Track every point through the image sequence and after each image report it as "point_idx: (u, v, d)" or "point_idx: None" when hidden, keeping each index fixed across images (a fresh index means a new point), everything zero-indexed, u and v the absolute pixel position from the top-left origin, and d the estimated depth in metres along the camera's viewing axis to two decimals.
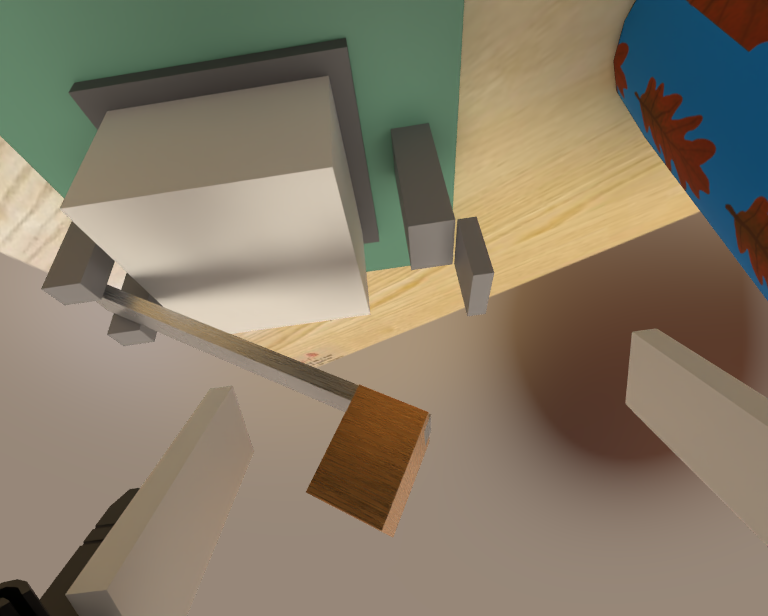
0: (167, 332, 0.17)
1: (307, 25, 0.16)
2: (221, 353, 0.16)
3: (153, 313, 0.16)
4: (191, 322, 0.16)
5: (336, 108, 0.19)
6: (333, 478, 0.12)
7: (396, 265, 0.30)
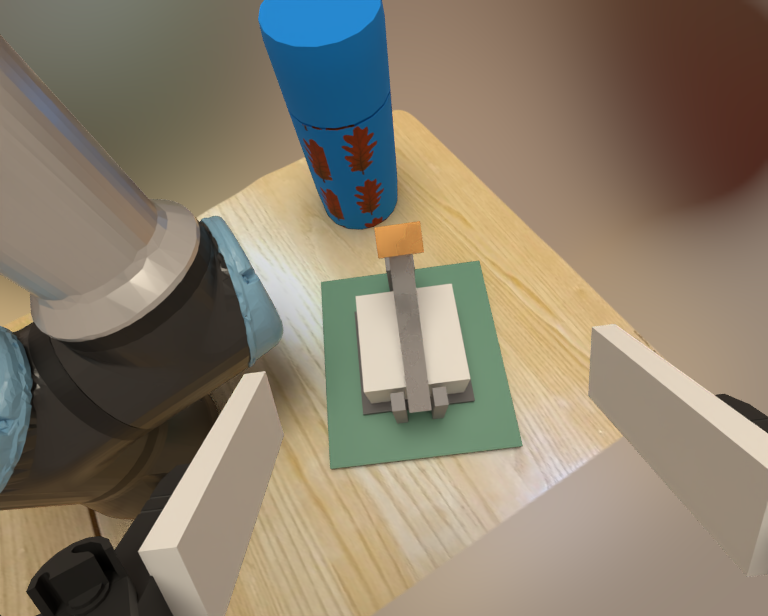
0: (418, 363, 0.36)
1: (350, 326, 0.48)
2: (410, 329, 0.35)
3: (403, 364, 0.36)
4: None
5: None
6: None
7: (484, 290, 0.48)
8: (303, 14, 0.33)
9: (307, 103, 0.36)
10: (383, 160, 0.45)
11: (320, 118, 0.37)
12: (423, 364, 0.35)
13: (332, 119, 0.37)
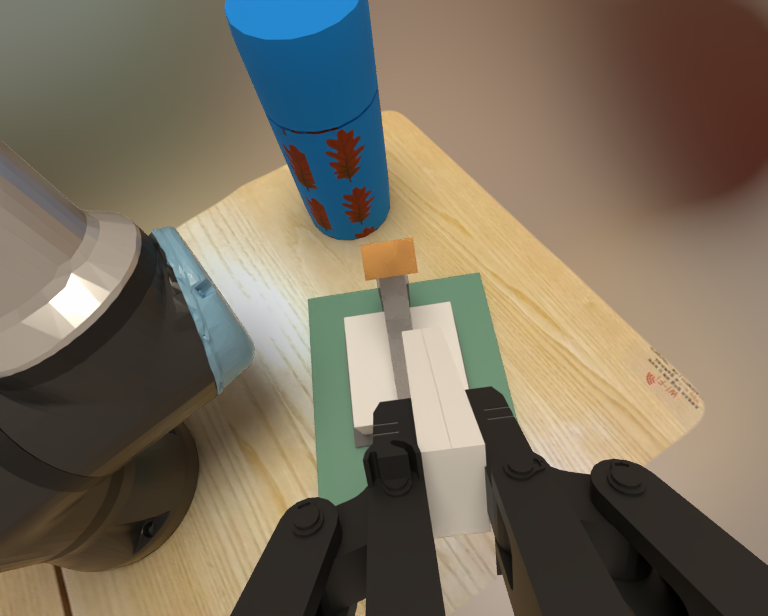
0: None
1: (340, 347, 0.44)
2: (404, 357, 0.31)
3: (397, 396, 0.32)
4: None
5: None
6: None
7: (485, 305, 0.44)
8: (275, 3, 0.29)
9: (283, 104, 0.32)
10: (372, 166, 0.41)
11: (299, 121, 0.33)
12: None
13: (313, 122, 0.33)
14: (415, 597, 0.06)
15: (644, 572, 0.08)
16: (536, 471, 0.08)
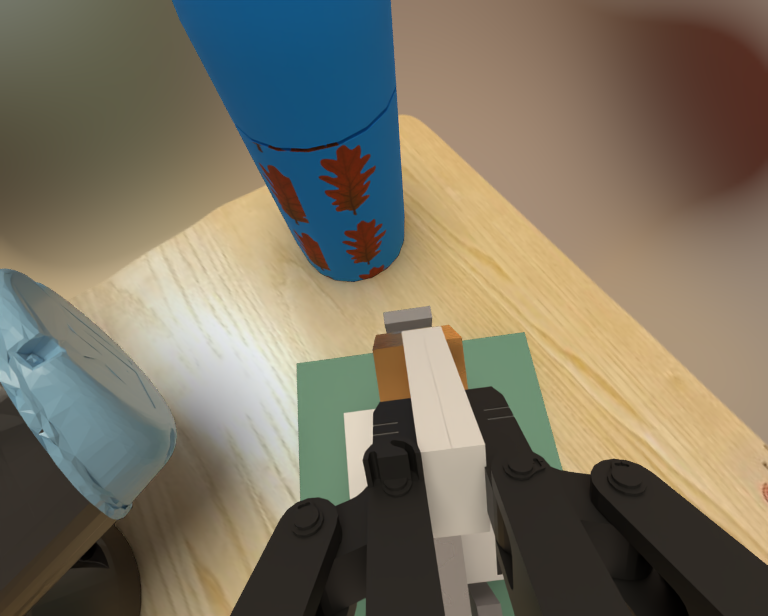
0: (451, 563, 0.20)
1: (338, 435, 0.32)
2: None
3: None
4: None
5: None
6: None
7: (534, 378, 0.33)
8: None
9: (254, 107, 0.21)
10: (385, 192, 0.30)
11: (280, 133, 0.22)
12: (460, 564, 0.20)
13: (301, 135, 0.22)
14: (415, 597, 0.06)
15: (644, 572, 0.08)
16: (536, 471, 0.08)
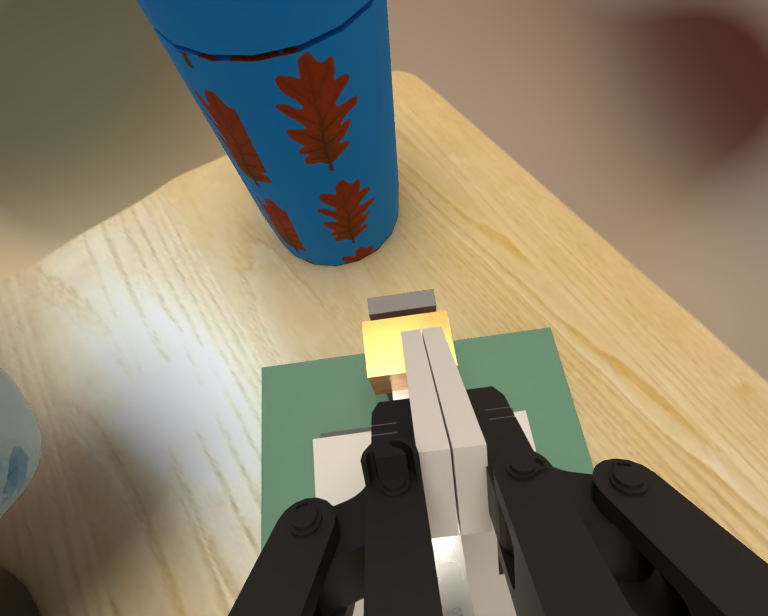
0: None
1: (313, 460, 0.25)
2: (438, 547, 0.16)
3: None
4: None
5: None
6: None
7: (564, 386, 0.26)
8: None
9: None
10: (372, 141, 0.22)
11: (209, 26, 0.15)
12: None
13: (240, 29, 0.15)
14: (413, 597, 0.06)
15: (646, 572, 0.08)
16: (538, 471, 0.08)
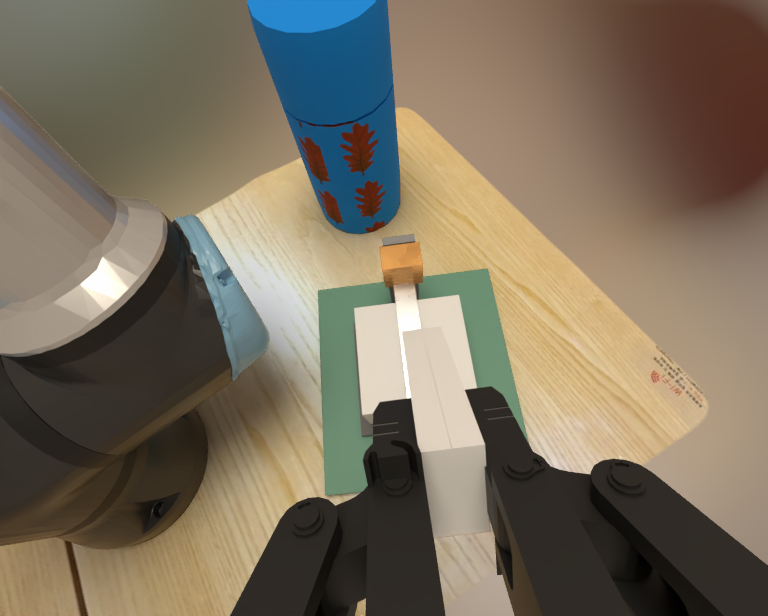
0: None
1: (349, 338, 0.44)
2: None
3: None
4: (403, 364, 0.35)
5: None
6: None
7: (493, 300, 0.45)
8: None
9: (301, 96, 0.33)
10: (385, 160, 0.42)
11: (316, 113, 0.34)
12: None
13: (329, 115, 0.34)
14: (415, 597, 0.06)
15: (644, 572, 0.08)
16: (536, 471, 0.08)
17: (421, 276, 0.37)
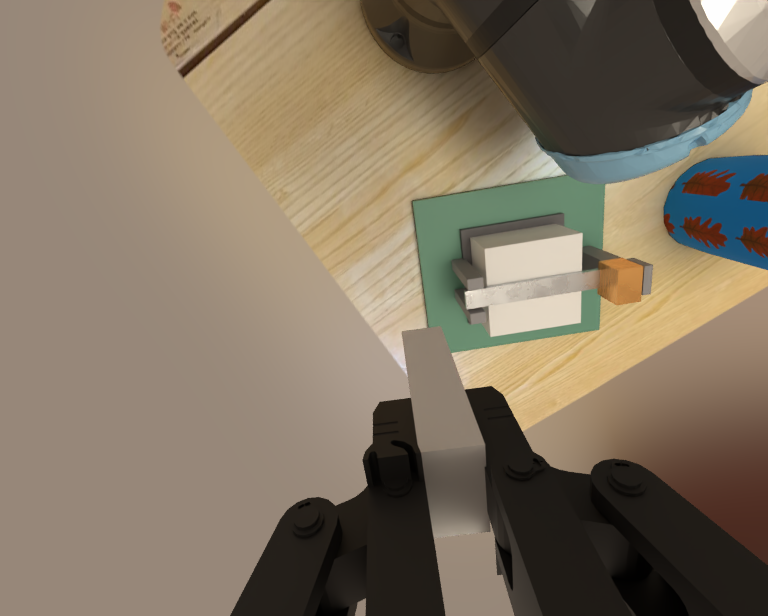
0: (508, 296, 0.42)
1: (548, 208, 0.46)
2: (538, 289, 0.42)
3: (507, 284, 0.42)
4: (524, 280, 0.42)
5: None
6: (620, 267, 0.39)
7: (568, 332, 0.52)
8: None
9: None
10: (747, 260, 0.39)
11: None
12: (506, 301, 0.42)
13: None
14: (415, 597, 0.06)
15: (644, 572, 0.08)
16: (536, 471, 0.08)
17: (604, 297, 0.41)
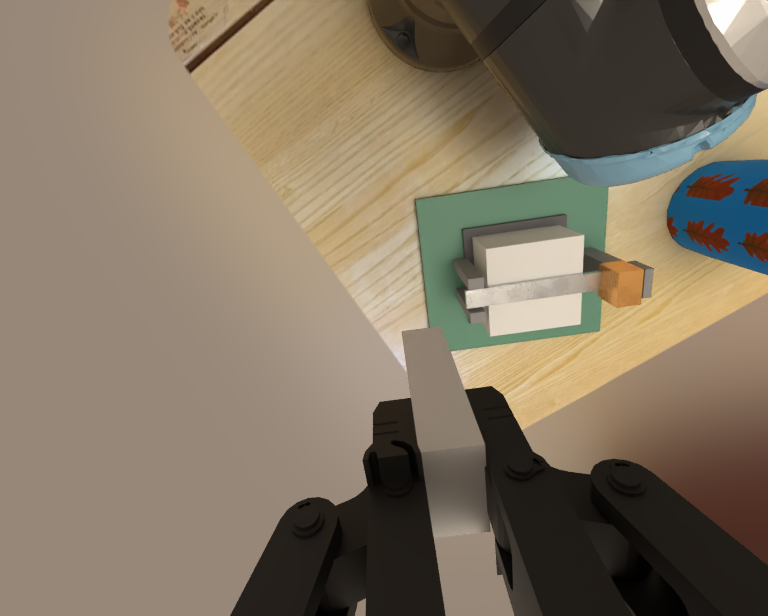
0: (508, 297, 0.42)
1: (551, 209, 0.46)
2: (538, 290, 0.42)
3: (507, 284, 0.42)
4: (524, 281, 0.42)
5: None
6: (621, 270, 0.39)
7: (568, 333, 0.52)
8: None
9: None
10: (749, 265, 0.39)
11: None
12: (507, 301, 0.42)
13: None
14: (415, 597, 0.06)
15: (644, 572, 0.08)
16: (536, 471, 0.08)
17: (604, 299, 0.41)
